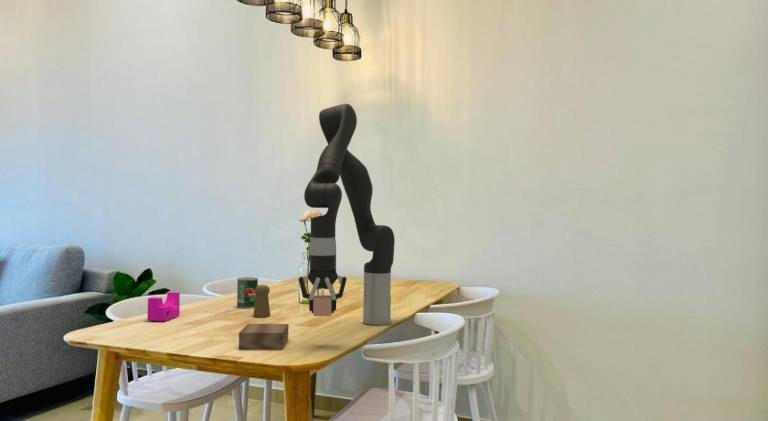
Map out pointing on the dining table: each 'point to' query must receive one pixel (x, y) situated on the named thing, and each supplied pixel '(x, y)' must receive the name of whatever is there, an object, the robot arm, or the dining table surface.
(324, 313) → the terracotta cube
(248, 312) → the dining table surface
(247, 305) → the canned tomato
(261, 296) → the cork
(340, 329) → the dining table surface
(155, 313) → the toy block
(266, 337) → the walnut base block
